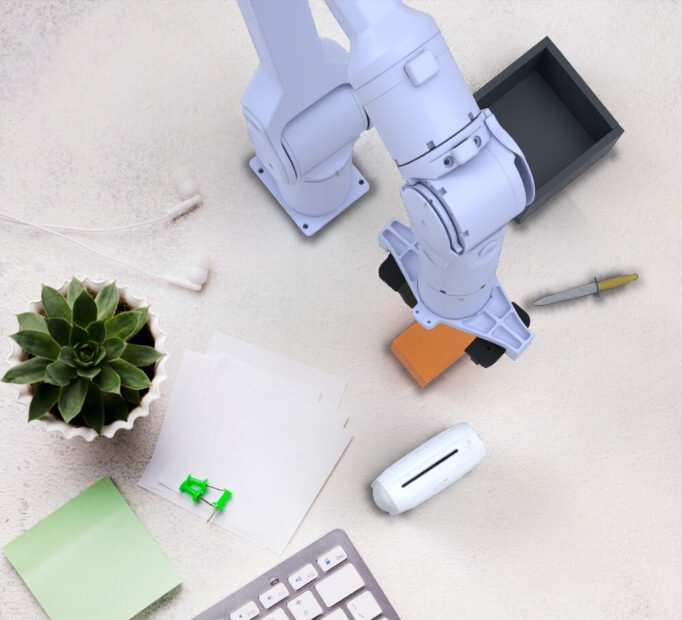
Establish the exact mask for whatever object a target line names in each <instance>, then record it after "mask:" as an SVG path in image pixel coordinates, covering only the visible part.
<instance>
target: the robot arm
mask: <svg viewBox="0 0 682 620" xmlns="http://www.w3.org/2000/svg"><path fill="white" fill-rule="evenodd" d="M235 1H236V3H237V7H238V8H239V11H240V14H241V16H242V19H243V21H244V24H245V27H246V29H247V32H248V35H249V37H250V39H251V43H252V45H253V48H254V50H255V53H256V55H257V58H258V61H259V62H258V66H257V67H256V69H255V71H254V73H253V74H252V77H251V78H250V80H249V82H248V84H247V85H246V87H245V89H244V92H243V93H242V96H241V97H240V101H239V102H240V105H241V107H242V111H241V112H242V115H243V117H244V119H245V123H246V132H247V135H248V139H249V140H250V143H251V145H252V147H253V149H254V151H255V156H253V157H252V158H251V159H250V160H249V166H250V168H251V169H252V171H253V172H254V173H255V174H256V175H257V177H258V178H259V180H260V181H261V182H262V183H263V185H264V186H265V187H266V189H267V190H269V192H270V193H271V195H272V196H273V197H274V198H275V199H276V201H277V202H278V203H279V204H280V205H281V207H282V208H283V210H284V211H285V212H286V213H287V215H289V217H290V218H291V219H292V221H294V224H296V226H298V228H299V229H300V230H301V232H302V233H303V235H305V236H306V237H311V236H313V235H314V234H316V233H317V232H319V231H320V230H321V229H322V228H323V227H325V226H327V224H328V223H330V221H332V220H333V219H335V218H336V217H337V216H339V215H340V214H341V213H342V212H343V211H345V210H346V209H347V208H349V207H350V206H351V205H352V204H353V203H355V202H356V201H357V200H359V199H360V198H361V197H363V195H365V194H366V193H368V192H369V190H370V183H369V182H368V180H367V179H366V178H365V177H364V176H363V174H362V173H361V172H360V171H359V170H358V167H356V165H354V163H353V151H354V146H355V144H356V142H357V141H358V140H359V139H360V138H361V134H362V133H364V132H365V131H370V130H371V129H373V128H375V130H376V132H377V134H378V136H379V138H380V139H381V142H382V143H383V145H384V146H385V148H386V150H387V152H388V153H389V155H390V157H391V159H392V161H393V162H394V164H395V166H396V169H397V170H398V171H399V174H400V176H401V177H402V179H403V180H404V181H405V183H404V184H403V186H402V185H398V189H399V195H400V199H401V201H402V204H403V206H404V208H405V211H406V213H407V215H408V217H409V221H410V225H408V224H406V223H405V222H403V221H402V220H400V218H398V217H396V216H394V217H392V218H391V220H390V221H389V222H388V223H387V224H386V225H385V226H384V227H383V228H382V229H381V230H380V231H379V232H378V233H377V238H378V246H379V247H380V248H381V249H382V250H384V251H385V252H387V253H388V254H387V257H386V258H385V259H384V260H383V261H382V262H381V264H380V265H379V267H378V278H379V279H380V280H381V281H382V282H383V283H385V284H386V285H387V286H388V287H389V288H391V290H392V291H394V292H395V293H398V294H399V296H400V297H401V299H402V300H403V302H404V303H405V304H406V305H407V306H408V307H409V308H410V309H412V311H411V313H412V319H413V320H414V321H416V322H418V323H419V324H421V325H422V326H423V327H424V328H426V329H432V328H434V327H435V326H436V325H437V324H439V323H443V324H446V325H448V326H451V327H454V328H456V329H459V330H461V331H464V332H467V333H469V334H472V335H474V336H477V337H476V338H475V339H474V340H473V341H472V342H471V343H470V344H469V345H468V346H467V347H466V349H465V350H464V352H465V354H466V355H468V356H469V357H470V361H471V362H472V363H473V364H475V365H476V366H480V367H482V368H484V369H488V368H490V367H492V366H494V365H495V364H496V363H497V362H498V361H499V360H501V358H502V357H503V356H504V355H506V356H507V357H508V358H509V359H510V360H511V361H513V362H516V361H517V360H518V359H519V357H520V356H521V355H522V354H524V352H525V351H526V350H527V349H528V348H529V347H530V346H531V345H532V343H533V341H534V338H535V334H534V333H533V332H532V330H530V329H529V328H530V326H531V316H530V315H529V313H528V312H527V311H525V309H524V308H522V307H521V306H520V305H519V304H518V303H516V302H515V301H511V300H510V298H509V296H508V294H507V293H506V291H505V289H504V286H503V285H502V283H501V282H500V280H499V278H498V277H497V275H496V274H497V269H498V266H499V262H500V259H501V258H500V257H501V253H502V249H503V246H504V245H503V244H504V241H505V237H506V232H507V228H508V224H509V222H510V221H511V220H513V219H514V217H515V216H517V215H518V214H520V213H521V212H522V211H523V210H524V208H525V206H526V205H530V204H531V203H532V202H533V200H534V197H535V186H534V181H533V177H532V174H531V171H530V168H529V166H528V164H527V162H526V159H525V157H524V155H523V153H522V151H521V150H520V148H519V147H518V145H517V144H516V143H515V141H514V140H513V139H512V138H511V136H510V135H509V134H508V133H507V132H506V131H505V130H504V129H503V128H502V127H501V126H500V125H499V123H498V122H497V120H496V118H495V116H494V114H492V113H491V112H490V110H489V109H488V108H486V109H483V110H480V109H479V107H478V105H477V103H476V101H475V99H474V97H473V93H472V91H471V89H470V87H469V86H468V83H467V81H466V79H465V77H464V75H463V73H462V71H461V69H460V67H459V65H458V63H457V62H456V59H455V57H454V55H453V53H452V51H451V49H450V47H449V45H448V43H447V41H446V39H445V37H444V35H443V33H442V31H441V29H440V27H439V25H438V23H437V21H436V19H435V17H434V16H432V15H430V14H429V13H427V12H424V11H422V10H419V9H416V8H414V7H411V6H410V5H407V4H406V3H404V1H403V0H322V1H323V2H324V4H325V5H326V7H327V8H328V10H329V11H330V13H331V14H332V16H333V18H334V19H335V21H336V23H337V24H338V25H339V27H340V29H341V30H342V32H343V33H344V34H345V36H346V37H347V39H348V41H349V51H348V50H347V49H346V48H345V47H344V46H342V45H341V44H340V43H339V42H338V41H336V40H335V39H333V38H330V37H325V36H320V35H319V33H318V29H317V27H316V23H315V19H314V16H313V13H312V9H311V7H310V3H309V0H235ZM260 171H262V172H260ZM360 182H363V183H362V184H360ZM304 226H307V228H304Z"/></svg>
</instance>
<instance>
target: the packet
mask: <svg viewBox="0 0 682 620" xmlns="http://www.w3.org/2000/svg"><path fill="white" fill-rule="evenodd" d="M476 337H477V336H474V335H472V334H469V333H467V332H464V331H461V330H459V329H456V328H454V327H451V326H448V325H446V324H443V323H439V324H437V325H436V326H435V327H434V328H432V329H426V328H424V327H423V326H422V325H421V324H419V323H418V322H417V321H416V322H414V324H412V325H411V326H410V327H408V328H407V329H406V330H404V331H403V332H402V333H401V334H399V335H398V336H397V337H396V338H395V339H393V340H392V343H391V345H390V348H389V350H390V352H392V353H393V354H394V356H395V357H396V358H397V359H398V361H399V362H400V363H401V364H402V366H403V367H404V368H405V370H406V371H407V372H408V373H409V374H410V376H411V378H413V380H414V381H415V382H416V383H417V385H418V386H419V387H420V388H421V389H423V388H424V387H426V386H427V385H428V384H429V383H431V382H432V381H433V380H434V379H436V378H437V377H438V376H440V375H441V374H442V373H443V372H444V371H446V370H447V369H448V368H450V367H451V366H452V365H453V364H455V363H456V362H457V361H459V360H460V358H462V357H463V356H464V355H466V353H465V352H464V350H465V349H466V347H467V346H468V345H469V344H470V343H471V342H472V341H473V340H474V339H475V338H476Z"/></svg>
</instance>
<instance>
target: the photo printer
mask: <svg viewBox="0 0 682 620" xmlns="http://www.w3.org/2000/svg"><path fill="white" fill-rule="evenodd" d="M487 454H488V453H487V448H486V446H485V443H484V441H483V439H482V437H481V436H480V434H479V433H478V432H477V430H476V429H474V427H472V425H470V424H469V423H468V422H466V421H461V422H458V423H455V424H453V425H451V426H449V427H447V428H446V429H444V430H443V431H441V432H439V433H437V434H436V435H434V436H433V437H431V438H429V439H427V441H425V442H423V443H422V444H420V445H419V446H417V447H416V448H414V449H413V450H411V451H410V452H409V453H407V454H406V455H404V456H402V457H401V458H399V459H398V460H396V462H394V463H393V464H391V465H390V466H389V467H387V468H385V470H384V471H383V472H382V473H380V474H379V475H378V477H377V478H376V479H375V480H374V481H373V482H372V483H371V484H370V487H371V489H372V498H373V501H374V503H375V505H376V507H378V508H379V509H380V510H382V511H383V512H387V513H388V514H389V516H394V515H397V514H401V513H404V512H407V511H409V510H411V509H413V508H415V507H417V506H419V505H420V504H422V503H424V502H425V501H427V500H428V499H430V498H432V497H433V496H435V495H437V494H438V493H439V492H441V491H443V490H444V489H446V488H447V487H449V486H450V485H453V484H454V483H455V482H456V481H458V480H459V479H461V478H462V477H463V476H465V475H466V474H468V473H469V472H470V471H472V470H473V469H474V468H475V467H476V466H477V465H479V464H480V462H482V461H483V459H484V458H485V457H487Z"/></svg>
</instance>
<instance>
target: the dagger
mask: <svg viewBox="0 0 682 620" xmlns="http://www.w3.org/2000/svg"><path fill="white" fill-rule="evenodd" d="M593 279H594V282H592V283H589V284H585V285H583V286H579V287H575V288H572V289H568V290H565V291H561V292H558V293H555V294H551V295H548V296H545V297H542V298H540V299H538V300H536V301H535V302H533V303H532V304H531V305H533V306H543V305H549V304H554V303H558V302H562V301H566V300H571V299H574V298H579V297H583V296H587V295H592V294H595V293H596V295H597V298H600V297H601V294H600V291H602V290H607V289H608V290H609V289H612V288H617V287H620V286H623V285H626V284H629V283H630V282H633V281H637V280H638V279H639V275H638V274H637V273H636V272H633V274H623V275H618V276H615V277H611V278H608V279H605V280H602V281H599V282H598V280H597V279H598V278H597V276H594V277H593Z"/></svg>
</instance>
